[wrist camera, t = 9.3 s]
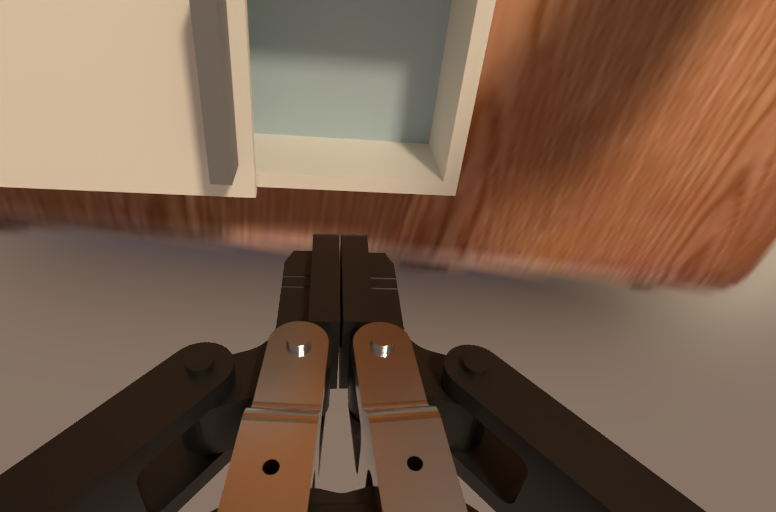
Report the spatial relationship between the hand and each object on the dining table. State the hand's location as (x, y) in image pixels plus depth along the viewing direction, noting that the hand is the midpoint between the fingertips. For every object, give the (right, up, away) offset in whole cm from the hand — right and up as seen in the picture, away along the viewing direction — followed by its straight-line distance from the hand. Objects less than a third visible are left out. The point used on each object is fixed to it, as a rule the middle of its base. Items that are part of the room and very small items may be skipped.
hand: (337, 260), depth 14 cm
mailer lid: (-16, +10, +13) cm, 23 cm away
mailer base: (-4, +14, +20) cm, 25 cm away
